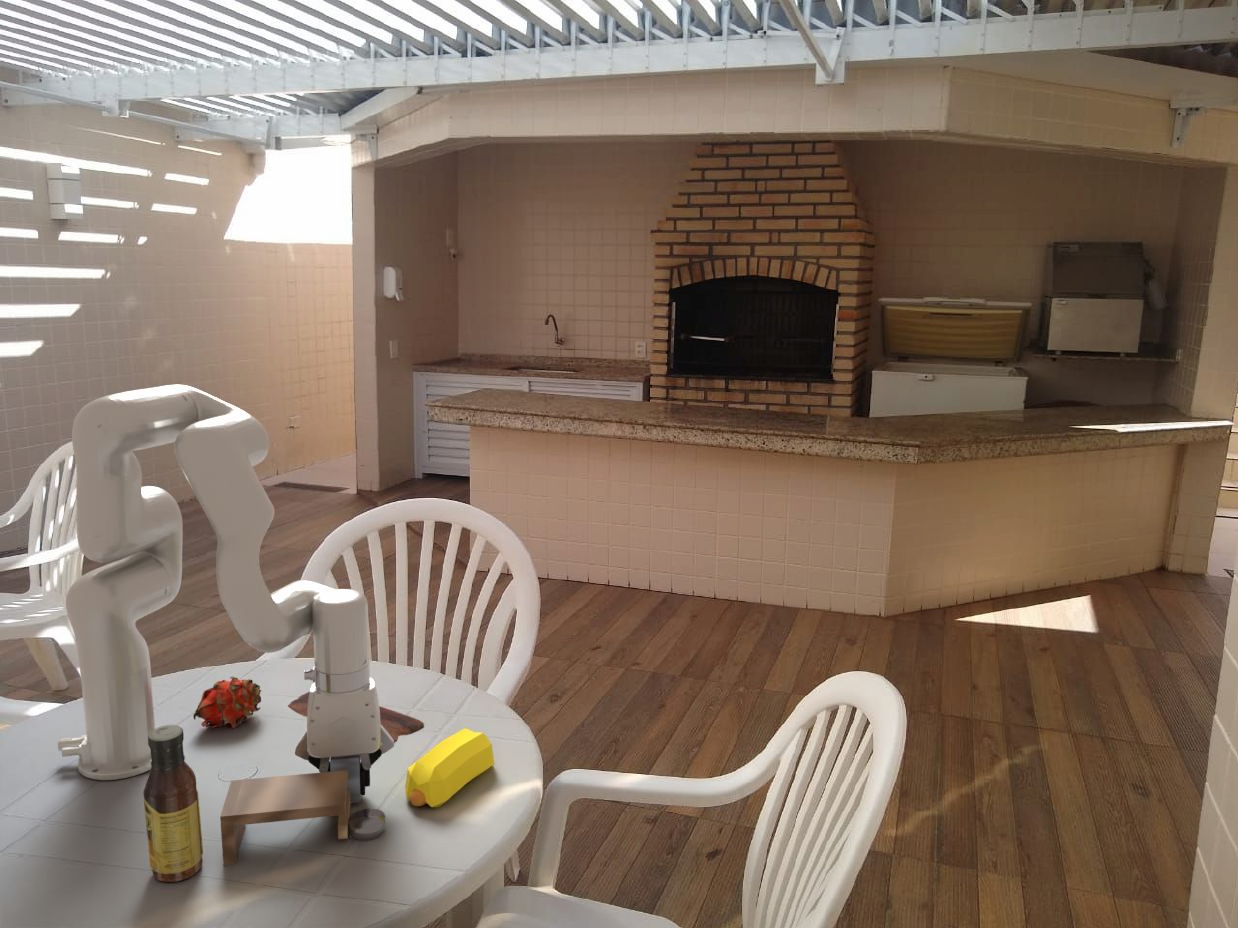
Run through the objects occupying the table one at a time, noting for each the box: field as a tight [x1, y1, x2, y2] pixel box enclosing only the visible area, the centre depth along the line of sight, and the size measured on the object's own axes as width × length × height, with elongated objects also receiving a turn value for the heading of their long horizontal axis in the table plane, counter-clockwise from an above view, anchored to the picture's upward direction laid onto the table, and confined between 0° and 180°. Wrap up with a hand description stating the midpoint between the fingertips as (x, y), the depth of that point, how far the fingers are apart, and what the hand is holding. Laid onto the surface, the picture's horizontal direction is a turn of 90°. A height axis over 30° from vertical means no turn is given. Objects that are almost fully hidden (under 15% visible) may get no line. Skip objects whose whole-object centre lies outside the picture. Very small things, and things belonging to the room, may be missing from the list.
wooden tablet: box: [287, 690, 425, 743], centre depth 169 cm, size 26×2×10 cm
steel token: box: [348, 808, 386, 842], centre depth 135 cm, size 5×5×2 cm
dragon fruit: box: [193, 676, 262, 729], centre depth 164 cm, size 8×8×12 cm
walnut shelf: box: [219, 770, 348, 866], centre depth 132 cm, size 16×9×7 cm, turn 103°
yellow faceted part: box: [405, 727, 495, 808], centre depth 147 cm, size 18×7×8 cm
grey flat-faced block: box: [329, 755, 362, 840], centre depth 137 cm, size 4×13×7 cm, turn 13°
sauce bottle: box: [142, 724, 204, 883], centre depth 123 cm, size 6×6×20 cm
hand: (346, 790), depth 142 cm, fingers closed on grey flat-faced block, 4 cm apart
